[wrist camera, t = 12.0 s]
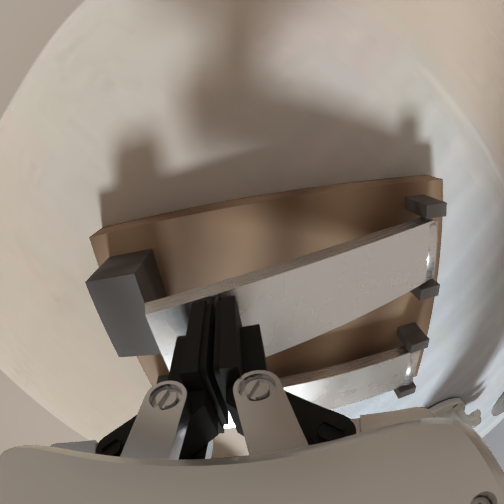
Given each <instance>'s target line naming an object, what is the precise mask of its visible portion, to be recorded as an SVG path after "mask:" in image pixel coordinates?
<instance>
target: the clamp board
mask: <svg viewBox="0 0 504 504" xmlns="http://www.w3.org/2000/svg"><path fill="white" fill-rule="evenodd" d="M446 205H447V203H446V202H443V179H439V178H435V177H432V176H428V175H421V176H409V177H398V178H388V179H378V180H369V181H360V182H351V183H343V184H335V185H327V186H320V187H313V188H306V189H299V190H292V191H285V192H279V193H272V194H266V195H260V196H254V197H248V198H242V199H237V200H231V201H226V202H220V203H215V204H210V205H204V206H199V207H194V208H189V209H184V210H179V211H174V212H170V213H165V214H160V215H156V216H151V217H147V218H142V219H138V220H133V221H129V222H125V223H121V224H116V225H112V226H108V227H104V228H101V229H100V230H99V231H97V232H96V233H95V234H93V235H92V236H90V237H89V238H90V241H91V244H92V247H93V250H94V253H95V256H96V259H97V262H98V265H99V268H98V269H97V270H96V271H95V272H94V273H93V274H92V276H91V277H90V278H89V279H88V280H87V281H86V282H85V283H86V285H87V288H88V290H89V293H90V295H91V298H92V300H93V302H94V305H95V307H96V309H97V312H98V314H99V316H100V318H101V321H102V323H103V325H104V327H105V329H106V331H107V334H108V336H109V338H110V340H111V342H112V344H113V346H114V348H115V350H116V352H117V354H118V356H119V357H128V356H137V358H138V360H139V362H140V364H141V366H142V368H143V370H144V372H145V374H146V376H147V377H148V379H149V381H150V383H151V385H152V387H153V386H154V385H156V384H158V383H160V382H164V381H168V377H169V369H168V367H167V365H166V363H165V361H164V358H163V356H162V354H161V352H160V349H159V347H158V345H157V342H156V340H155V338H154V335H153V333H152V330H151V328H150V326H149V323H148V321H147V318H146V315H145V303H147V302H150V301H154V300H157V299H161V298H164V297H168V296H171V295H175V294H178V293H181V292H185V291H188V290H192V289H195V288H198V287H202V286H205V285H209V284H212V283H215V282H219V281H222V280H225V279H229V278H232V277H235V276H239V275H242V274H245V273H248V272H252V271H255V270H258V269H261V268H265V267H268V266H271V265H274V264H278V263H281V262H284V261H287V260H290V259H294V258H297V257H300V256H303V255H306V254H310V253H313V252H316V251H319V250H322V249H325V248H328V247H332V246H335V245H338V244H341V243H344V242H347V241H350V240H353V239H356V238H359V237H362V236H365V235H368V234H372V233H375V232H378V231H381V230H384V229H387V228H390V227H393V226H396V225H399V224H402V223H405V222H408V221H411V220H414V219H416V218H419V217H423V218H425V219H435V220H437V221H438V240H437V253H436V263H435V273H434V277H433V278H432V279H430V280H429V281H427V282H425V283H423V284H422V285H420V286H418V287H416V288H414V289H413V290H411V291H409V292H407V293H405V294H404V295H402V296H400V297H398V298H396V299H394V300H392V301H390V302H388V303H387V304H385V305H383V306H381V307H379V308H377V309H375V310H373V311H371V312H369V313H367V314H365V315H363V316H361V317H359V318H356V319H354V320H352V321H350V322H348V323H346V324H344V325H342V326H339V327H337V328H335V329H333V330H331V331H328V332H326V333H324V334H321V335H319V336H317V337H315V338H312V339H310V340H307V341H305V342H303V343H300V344H298V345H295V346H293V347H290V348H288V349H285V350H283V351H280V352H278V353H275V354H273V355H270V356H267V357H266V363H267V369H268V371H269V372H272V373H273V374H275V375H276V376H277V377H278V378H282V377H287V376H292V375H297V374H301V373H306V372H310V371H315V370H319V369H323V368H327V367H331V366H335V365H339V364H343V363H347V362H350V361H354V360H357V359H361V358H364V357H368V356H371V355H374V354H377V353H381V352H384V351H387V350H390V349H393V348H396V347H399V346H402V345H404V346H405V347H406V348H407V350H408V351H409V353H410V354H411V353H413V352H416V351H419V350H421V351H420V355H419V359H418V363H417V366H416V370H415V374H414V377H415V376H417V373H418V369H419V366H420V362H421V358H422V354H423V351H424V348H427V347H428V343H429V338H428V337H427V333H428V329H429V324H430V319H431V314H432V308H433V303H434V297H435V296H437V295H438V293H439V287H440V284H438V283H437V276H438V267H439V258H440V247H441V233H442V217H443V216H446ZM415 389H416V386H415V384H414V383H413V381H412V382H411V383H410V384H409V385H404V386H402V387H399V388H397V389H394V391H395V393H396V395H397V397H398V399H399V398H401V397H404V396H407V395H409V394H412V393H414V392H415Z"/></svg>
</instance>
